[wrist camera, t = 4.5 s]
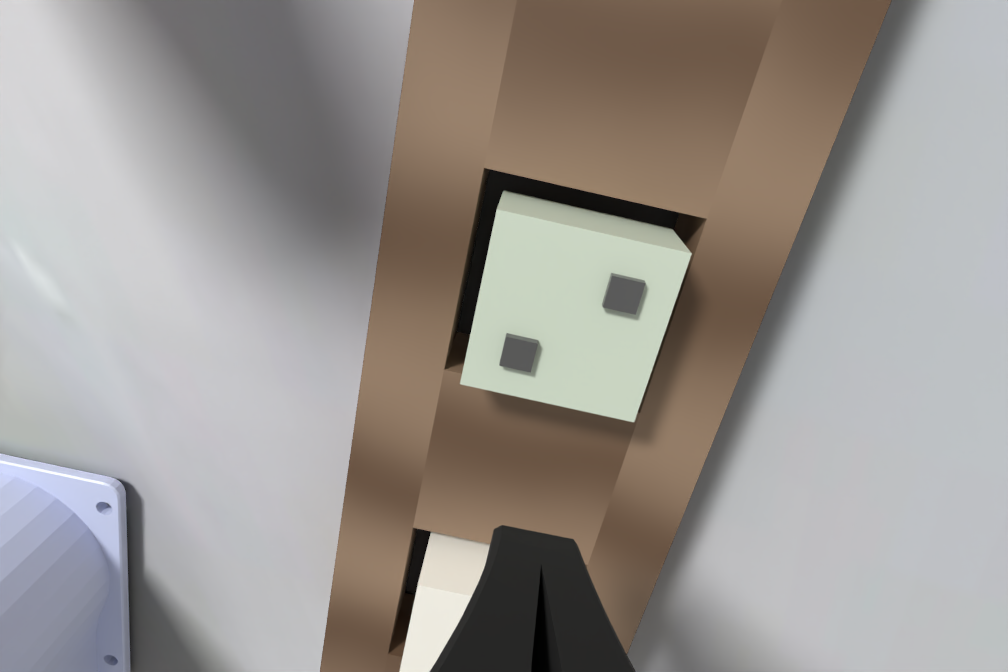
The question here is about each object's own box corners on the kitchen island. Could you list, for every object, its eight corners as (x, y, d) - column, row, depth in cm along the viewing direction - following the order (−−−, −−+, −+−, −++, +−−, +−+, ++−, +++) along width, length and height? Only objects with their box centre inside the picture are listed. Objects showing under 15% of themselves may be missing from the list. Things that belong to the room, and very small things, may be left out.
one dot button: (534, 653, 20) (532, 725, 18) (410, 627, 20) (394, 695, 18) (565, 557, 19) (567, 622, 16) (431, 528, 19) (416, 590, 16)
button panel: (590, 664, 23) (595, 731, 20) (342, 612, 22) (319, 674, 20) (986, -386, 12) (1093, -497, 10) (513, -508, 12) (505, -651, 9)
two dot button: (623, 378, 16) (635, 427, 14) (470, 345, 16) (458, 388, 14) (672, 228, 15) (694, 256, 13) (503, 190, 15) (495, 211, 12)
